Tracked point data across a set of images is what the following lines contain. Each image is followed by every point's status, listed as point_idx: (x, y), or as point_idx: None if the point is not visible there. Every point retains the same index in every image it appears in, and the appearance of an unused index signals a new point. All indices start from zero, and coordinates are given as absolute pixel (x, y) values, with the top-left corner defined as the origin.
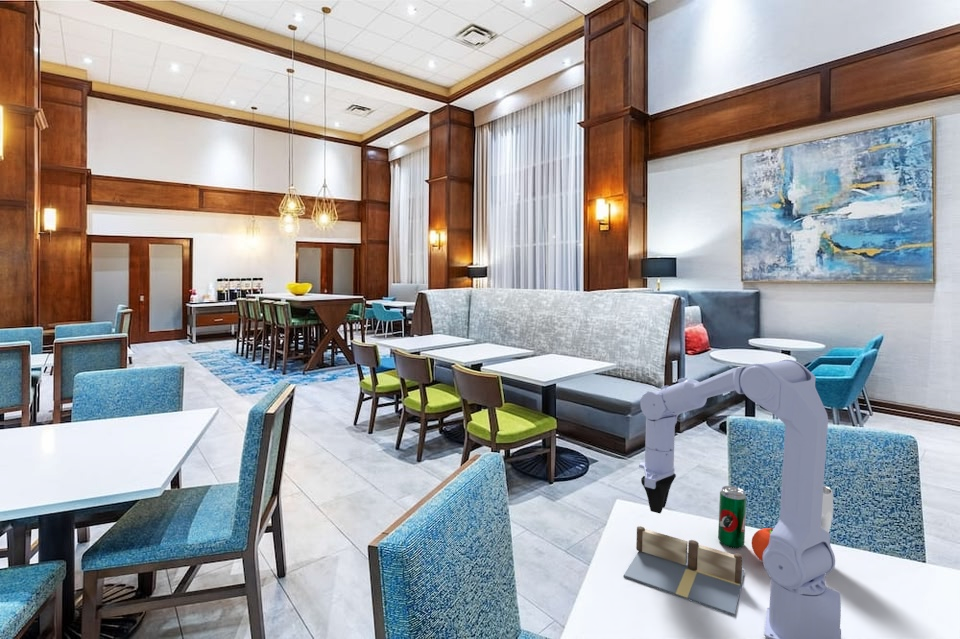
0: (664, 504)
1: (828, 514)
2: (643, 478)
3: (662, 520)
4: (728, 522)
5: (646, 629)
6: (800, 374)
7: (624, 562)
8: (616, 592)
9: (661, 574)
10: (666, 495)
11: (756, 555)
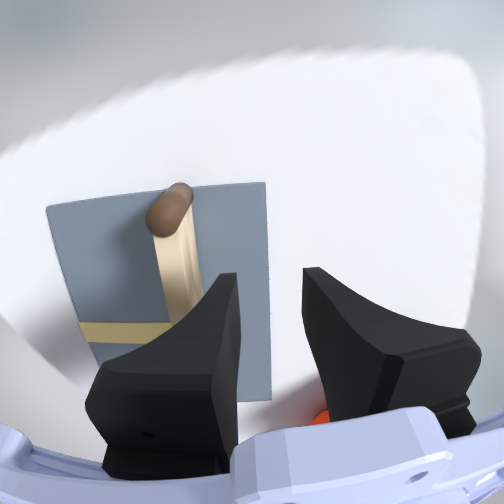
0: (305, 325)
1: None
2: (126, 407)
3: (433, 190)
4: None
5: None
6: None
7: (103, 175)
8: (3, 218)
9: (114, 282)
10: (319, 367)
11: (321, 415)
